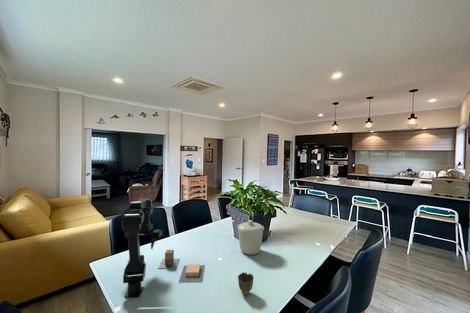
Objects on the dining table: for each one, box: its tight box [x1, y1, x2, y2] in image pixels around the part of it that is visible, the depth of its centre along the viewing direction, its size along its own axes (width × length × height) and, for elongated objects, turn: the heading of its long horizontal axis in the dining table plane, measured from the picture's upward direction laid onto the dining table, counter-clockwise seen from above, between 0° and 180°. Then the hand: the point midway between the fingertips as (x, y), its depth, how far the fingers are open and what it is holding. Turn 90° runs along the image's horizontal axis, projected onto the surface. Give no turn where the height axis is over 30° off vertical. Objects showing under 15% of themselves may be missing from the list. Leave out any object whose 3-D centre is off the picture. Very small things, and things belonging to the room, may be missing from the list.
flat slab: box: [185, 263, 201, 277], centre depth 114 cm, size 2×7×8 cm
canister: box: [237, 219, 265, 256], centre depth 141 cm, size 18×18×21 cm
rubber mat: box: [178, 264, 206, 284], centre depth 113 cm, size 16×12×1 cm
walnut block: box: [164, 249, 175, 265], centre depth 122 cm, size 4×4×7 cm
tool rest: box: [157, 258, 180, 270], centre depth 122 cm, size 10×10×1 cm
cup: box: [237, 271, 255, 296], centre depth 98 cm, size 8×7×8 cm
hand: (143, 248), depth 116 cm, fingers open, 9 cm apart
